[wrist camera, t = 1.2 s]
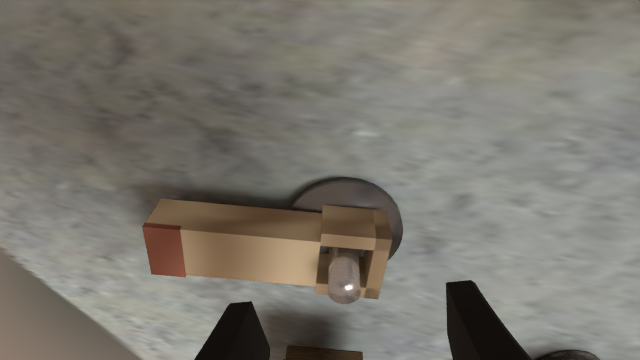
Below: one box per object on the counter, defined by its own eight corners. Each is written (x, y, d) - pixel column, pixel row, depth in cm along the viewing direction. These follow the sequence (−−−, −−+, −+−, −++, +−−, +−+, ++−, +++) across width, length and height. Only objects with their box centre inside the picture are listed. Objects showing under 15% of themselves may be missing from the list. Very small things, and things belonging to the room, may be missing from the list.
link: (387, 210, 20) (392, 241, 18) (374, 268, 22) (378, 300, 20) (159, 190, 19) (140, 218, 18) (168, 249, 21) (152, 280, 20)
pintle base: (288, 172, 20) (276, 232, 16) (412, 183, 20) (429, 246, 16) (283, 262, 23) (272, 331, 19) (390, 272, 23) (400, 342, 19)
